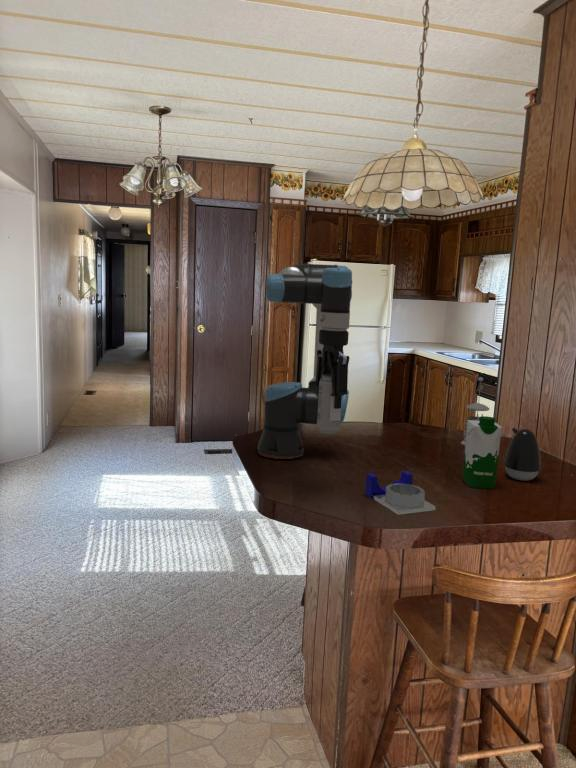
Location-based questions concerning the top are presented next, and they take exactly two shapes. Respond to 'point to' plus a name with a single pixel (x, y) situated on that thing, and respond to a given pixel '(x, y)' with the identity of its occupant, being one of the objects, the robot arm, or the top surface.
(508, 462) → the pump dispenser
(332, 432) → the energy drink can
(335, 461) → the top surface
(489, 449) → the milk carton
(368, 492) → the blue u-shaped piece
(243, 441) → the top surface
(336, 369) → the robot arm
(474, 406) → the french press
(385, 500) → the plate
